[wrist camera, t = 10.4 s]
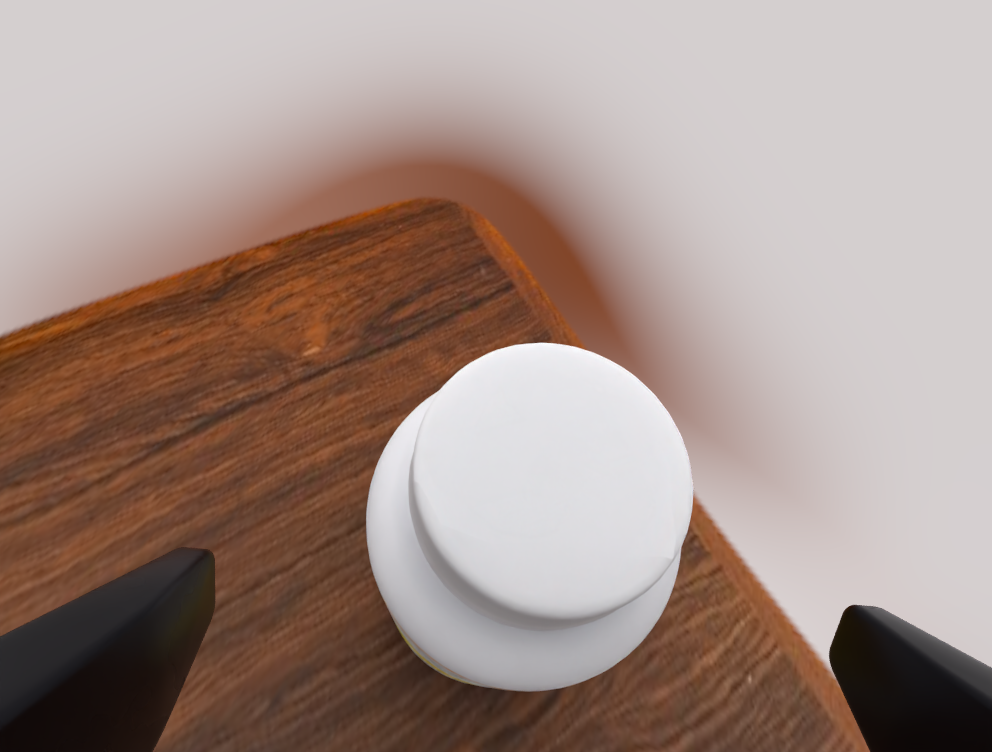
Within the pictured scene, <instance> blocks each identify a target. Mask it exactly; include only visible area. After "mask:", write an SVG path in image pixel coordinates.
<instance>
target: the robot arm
mask: <svg viewBox="0 0 992 752" xmlns="http://www.w3.org/2000/svg"><path fill="white" fill-rule="evenodd" d="M214 608H215V559H214V555H213V553H212V552H211V551H210V550H208V549H198V548H187V547H181V548H178V549H175V550H173V551H171V552H169V553H167V554H165V555H163V556H161V557H159V558H157V559H155V560H153V561H151V562H149V563H147V564H145V565H143V566H141V567H139V568H137V569H135V570H133V571H131V572H129V573H127V574H125V575H123V576H121V577H119V578H117V579H115V580H113V581H111V582H109V583H107V584H105V585H103V586H101V587H99V588H97V589H95V590H93V591H91V592H89V593H87V594H85V595H83V596H81V597H79V598H77V599H75V600H73V601H71V602H69V603H67V604H65V605H63V606H61V607H59V608H57V609H55V610H53V611H51V612H48V613H46V614H44V615H42V616H40V617H38V618H36V619H34V620H32V621H30V622H28V623H26V624H24V625H22V626H20V627H18V628H16V629H14V630H12V631H10V632H8V633H6V634H4V635H2V636H0V752H153V750H154V748H155V746H156V744H157V742H158V740H159V738H160V736H161V735H162V732H163V730H164V728H165V726H166V724H167V721H168V719H169V717H170V715H171V712H172V710H173V708H174V705H175V703H176V701H177V698H178V696H179V694H180V692H181V689H182V687H183V685H184V682H185V680H186V678H187V675H188V673H189V671H190V668H191V666H192V664H193V661H194V659H195V657H196V654H197V652H198V650H199V647H200V645H201V643H202V640H203V638H204V636H205V633H206V631H207V629H208V626H209V624H210V622H211V619H212V616H213V613H214ZM829 659H830V664H831V667H832V670H833V672H834V674H835V677H836V679H837V681H838V683H839V685H840V687H841V690H842V692H843V694H844V696H845V698H846V700H847V703H848V705H849V707H850V709H851V711H852V713H853V715H854V718H855V720H856V722H857V724H858V726H859V728H860V731H861V733H862V735H863V737H864V739H865V741H866V744H867V746H868V748H869V750H870V752H992V668H991V667H989V666H987V665H986V664H984V663H982V662H980V661H978V660H976V659H974V658H973V657H971V656H969V655H967V654H965V653H963V652H961V651H960V650H958V649H956V648H954V647H952V646H950V645H949V644H947V643H945V642H943V641H941V640H939V639H937V638H936V637H934V636H932V635H930V634H928V633H926V632H924V631H923V630H921V629H919V628H917V627H915V626H914V625H912V624H910V623H908V622H906V621H904V620H902V619H900V618H899V617H897V616H895V615H893V614H891V613H889V612H888V611H886V610H884V609H882V608H878V607H873V606H862V605H852V606H849V607H848V608H846V609H845V611H844V612H843V615H842V617H841V620H840V623H839V625H838V628H837V631H836V633H835V636H834V639H833V641H832V644H831V647H830V651H829Z"/></svg>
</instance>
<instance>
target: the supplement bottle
mask: <svg viewBox="0 0 992 752" xmlns="http://www.w3.org/2000/svg"><path fill="white" fill-rule="evenodd" d="M693 491H694V490H693V481H692V472H691V466H690V461H689V457H688V453H687V450H686V448H685V445H684V442H683V439H682V436H681V434H680V432H679V430H678V429H677V427H676V425H675V423H674V421H673V419H672V418H671V416H670V414H669V413H668V411H667V410H666V409H665V408H664V406H663V405H662V403H661V402H660V401H659V400H658V398H657V397H656V396H655V395H654V394H653V393H652V392H651V391H650V390H649V389H648V388H647V387H646V386H645V385H644V384H643V383H642V382H641V381H640V380H638V378H636V377H635V376H634V375H633V374H631V373H630V372H628V371H627V370H626V369H624V368H623V367H621V366H619V365H618V364H615V363H614V362H612V361H610V360H608V359H606V358H604V357H602V356H599V355H597V354H595V353H593V352H590V351H587V350H583V349H580V348H577V347H573V346H567V345H561V344H552V343H532V344H521V345H514V346H510V347H506V348H502V349H498V350H496V351H493V352H491V353H489V354H486V355H484V356H482V357H480V358H479V359H477V360H475V361H473V362H471V363H469V364H468V365H466V366H465V367H464V368H462V369H461V370H460V371H458V372H457V373H456V374H455V375H454V376H453V377H452V378H451V379H450V380H449V381H448V382H447V383H446V384H445V385H444V386H443V387H442V388H441V389H440V390H439V391H438V392H436V393H435V394H433V395H432V396H430V397H429V398H428V399H426V400H425V401H424V402H423V403H421V404H420V405H419V406H418V407H417V408H416V409H414V410H413V412H412V413H411V414H410V415H409V416H408V417H407V418H406V419H405V420H404V421H403V422H402V424H401V425H400V426H399V427H398V429H397V430H396V431H395V433H394V434H393V436H392V437H391V439H390V440H389V442H388V444H387V446H386V447H385V449H384V451H383V453H382V455H381V457H380V459H379V462H378V464H377V467H376V469H375V472H374V476H373V479H372V482H371V485H370V490H369V496H368V503H367V512H366V533H367V544H368V551H369V558H370V563H371V567H372V571H373V574H374V577H375V580H376V583H377V585H378V588H379V591H380V593H381V595H382V597H383V600H384V602H385V604H386V606H387V608H388V610H389V612H390V613H391V616H392V618H393V620H394V622H395V624H396V626H397V628H398V630H399V632H400V634H401V635H402V637H403V638H404V640H405V642H406V643H407V644H408V646H409V647H410V648H411V650H412V651H413V652H414V654H415V655H416V656H418V657H419V658H420V659H421V660H422V661H423V662H424V663H426V664H427V665H428V666H430V667H431V668H433V669H434V670H436V671H437V672H439V673H441V674H443V675H444V676H447V677H449V678H451V679H454V680H457V681H460V682H463V683H468V684H472V685H477V686H483V687H489V688H496V689H503V690H512V691H526V692H531V691H546V690H552V689H559V688H563V687H568V686H572V685H574V684H577V683H580V682H583V681H585V680H588V679H590V678H592V677H594V676H597V675H599V674H601V673H603V672H605V671H606V670H608V669H610V668H611V667H613V666H614V665H616V664H617V663H618V662H620V661H621V660H622V659H623V658H625V657H627V656H628V655H629V654H630V653H631V652H632V651H633V650H634V649H635V648H636V647H637V646H638V645H639V644H640V643H641V642H642V641H643V640H644V639H645V637H646V636H647V635H648V634H649V632H650V631H651V630H652V628H653V627H654V625H655V624H656V622H657V621H658V619H659V617H660V616H661V614H662V612H663V610H664V608H665V606H666V604H667V602H668V600H669V597H670V595H671V592H672V589H673V586H674V583H675V580H676V576H677V573H678V567H679V562H680V555H681V546H682V544H683V542H684V539H685V537H686V534H687V531H688V527H689V523H690V518H691V514H692V504H693Z"/></svg>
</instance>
